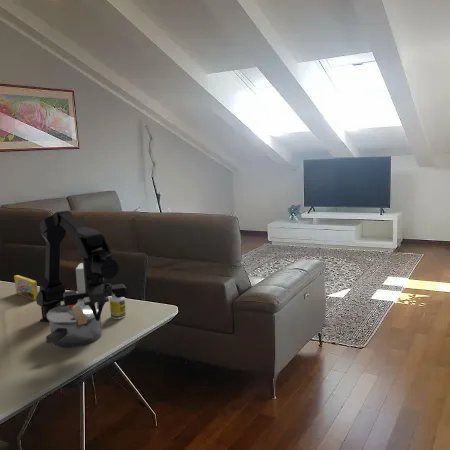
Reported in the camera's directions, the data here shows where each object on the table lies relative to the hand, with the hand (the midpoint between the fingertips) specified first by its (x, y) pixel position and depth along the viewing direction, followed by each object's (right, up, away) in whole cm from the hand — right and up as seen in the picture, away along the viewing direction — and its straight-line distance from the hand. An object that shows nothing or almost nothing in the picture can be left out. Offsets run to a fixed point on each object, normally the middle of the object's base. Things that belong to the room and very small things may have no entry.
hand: (97, 320), depth 146 cm
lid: (-9, +1, +6) cm, 11 cm away
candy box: (-44, -1, +53) cm, 69 cm away
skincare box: (-15, -2, +42) cm, 45 cm away
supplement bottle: (+1, -4, +26) cm, 26 cm away
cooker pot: (-10, -8, +7) cm, 14 cm away
